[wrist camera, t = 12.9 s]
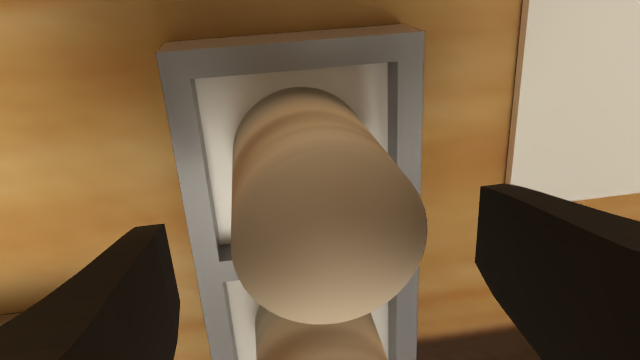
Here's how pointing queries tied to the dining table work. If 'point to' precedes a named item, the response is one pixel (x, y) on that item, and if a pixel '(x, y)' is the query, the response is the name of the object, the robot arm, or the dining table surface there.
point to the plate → (577, 99)
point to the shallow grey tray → (227, 113)
